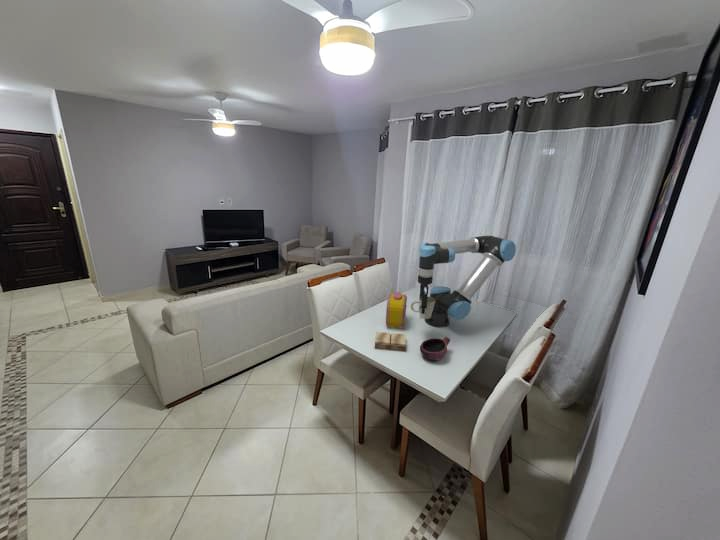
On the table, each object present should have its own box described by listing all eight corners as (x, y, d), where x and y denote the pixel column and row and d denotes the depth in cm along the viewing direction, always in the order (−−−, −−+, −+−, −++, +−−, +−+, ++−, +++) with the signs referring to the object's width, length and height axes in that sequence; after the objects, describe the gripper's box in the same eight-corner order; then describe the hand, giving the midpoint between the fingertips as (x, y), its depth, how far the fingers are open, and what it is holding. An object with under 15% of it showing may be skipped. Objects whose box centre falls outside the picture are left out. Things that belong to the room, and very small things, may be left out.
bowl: (442, 367, 127) (444, 353, 125) (416, 359, 133) (417, 345, 131) (449, 351, 141) (451, 337, 138) (425, 343, 147) (427, 330, 144)
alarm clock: (388, 315, 177) (390, 288, 171) (405, 317, 175) (407, 290, 169) (384, 329, 160) (386, 299, 154) (403, 332, 158) (406, 301, 152)
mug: (433, 320, 143) (435, 303, 140) (409, 317, 145) (411, 300, 142) (432, 313, 151) (434, 297, 148) (410, 311, 153) (411, 294, 150)
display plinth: (404, 340, 149) (405, 333, 148) (405, 351, 139) (406, 344, 138) (375, 337, 151) (376, 331, 150) (374, 348, 141) (374, 342, 139)
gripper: (416, 269, 150) (413, 307, 157) (419, 281, 132) (415, 323, 139) (430, 270, 149) (426, 308, 156) (435, 282, 131) (430, 324, 138)
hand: (421, 315), depth 148 cm, fingers closed on mug, 6 cm apart
